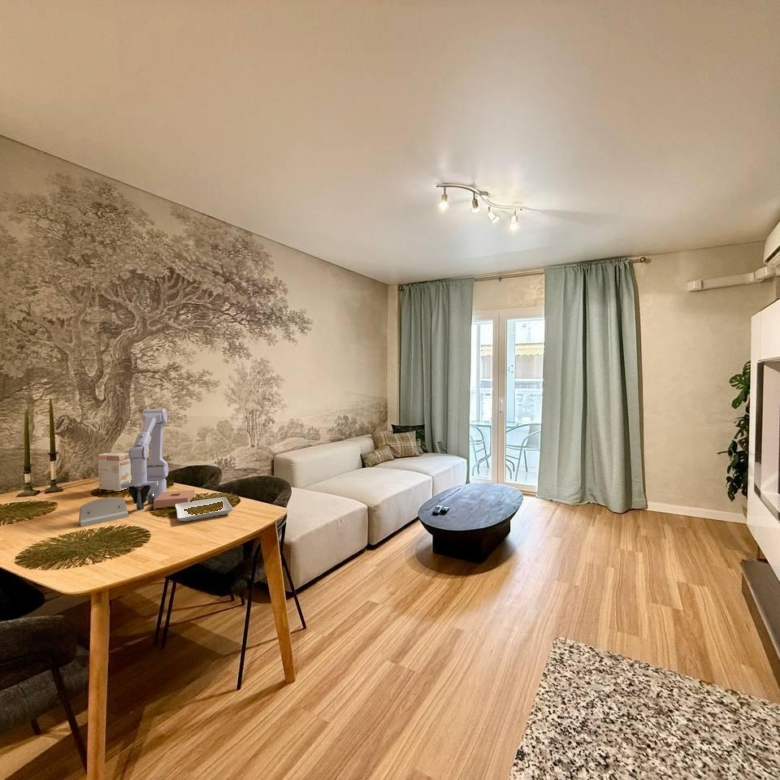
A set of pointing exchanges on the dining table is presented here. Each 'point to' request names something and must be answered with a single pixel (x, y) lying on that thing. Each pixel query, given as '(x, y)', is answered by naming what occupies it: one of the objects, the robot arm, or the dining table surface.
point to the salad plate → (185, 516)
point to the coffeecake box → (114, 470)
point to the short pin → (150, 498)
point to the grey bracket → (102, 511)
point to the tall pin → (139, 499)
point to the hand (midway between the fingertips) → (140, 502)
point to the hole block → (173, 498)
